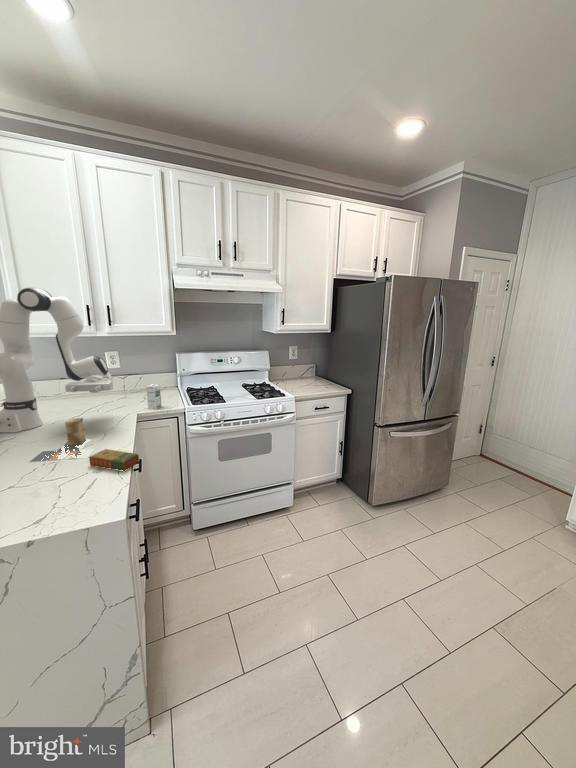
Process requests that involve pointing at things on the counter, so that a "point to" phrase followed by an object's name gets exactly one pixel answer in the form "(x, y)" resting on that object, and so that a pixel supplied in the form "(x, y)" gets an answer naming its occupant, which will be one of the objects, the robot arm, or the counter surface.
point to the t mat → (56, 453)
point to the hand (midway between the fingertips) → (83, 390)
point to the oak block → (75, 431)
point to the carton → (114, 459)
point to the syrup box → (153, 396)
